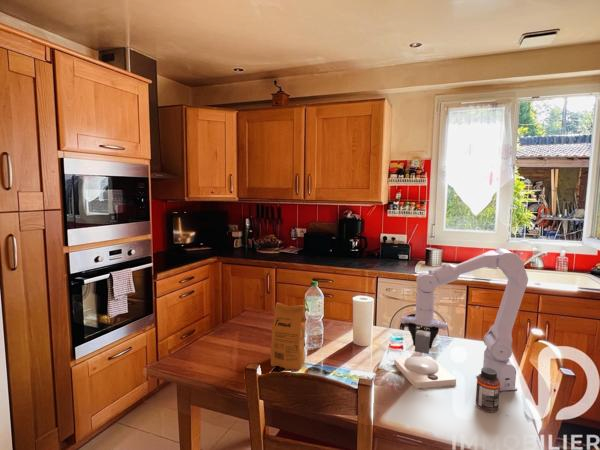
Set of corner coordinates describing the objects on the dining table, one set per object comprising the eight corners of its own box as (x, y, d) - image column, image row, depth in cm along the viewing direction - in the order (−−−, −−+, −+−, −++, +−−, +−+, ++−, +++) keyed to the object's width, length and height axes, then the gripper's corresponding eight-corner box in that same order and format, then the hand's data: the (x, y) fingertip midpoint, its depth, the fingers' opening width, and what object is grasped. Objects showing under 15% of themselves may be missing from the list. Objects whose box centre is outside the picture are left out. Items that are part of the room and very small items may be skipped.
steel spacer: (429, 348, 124) (430, 332, 124) (428, 354, 120) (429, 336, 120) (416, 346, 126) (417, 329, 125) (414, 351, 122) (415, 334, 121)
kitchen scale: (455, 385, 116) (456, 376, 115) (415, 388, 113) (416, 380, 113) (429, 361, 131) (430, 354, 131) (394, 363, 129) (394, 356, 129)
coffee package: (276, 354, 135) (277, 297, 133) (308, 359, 131) (309, 301, 129) (266, 366, 126) (266, 306, 123) (299, 373, 122) (300, 310, 120)
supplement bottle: (478, 398, 108) (480, 363, 107) (500, 406, 105) (503, 369, 104) (472, 407, 104) (475, 370, 103) (495, 416, 100) (498, 377, 99)
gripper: (448, 307, 122) (445, 345, 124) (404, 301, 128) (402, 337, 129) (447, 314, 116) (444, 354, 117) (401, 307, 122) (399, 345, 123)
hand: (422, 346), depth 123 cm, fingers closed on steel spacer, 4 cm apart
